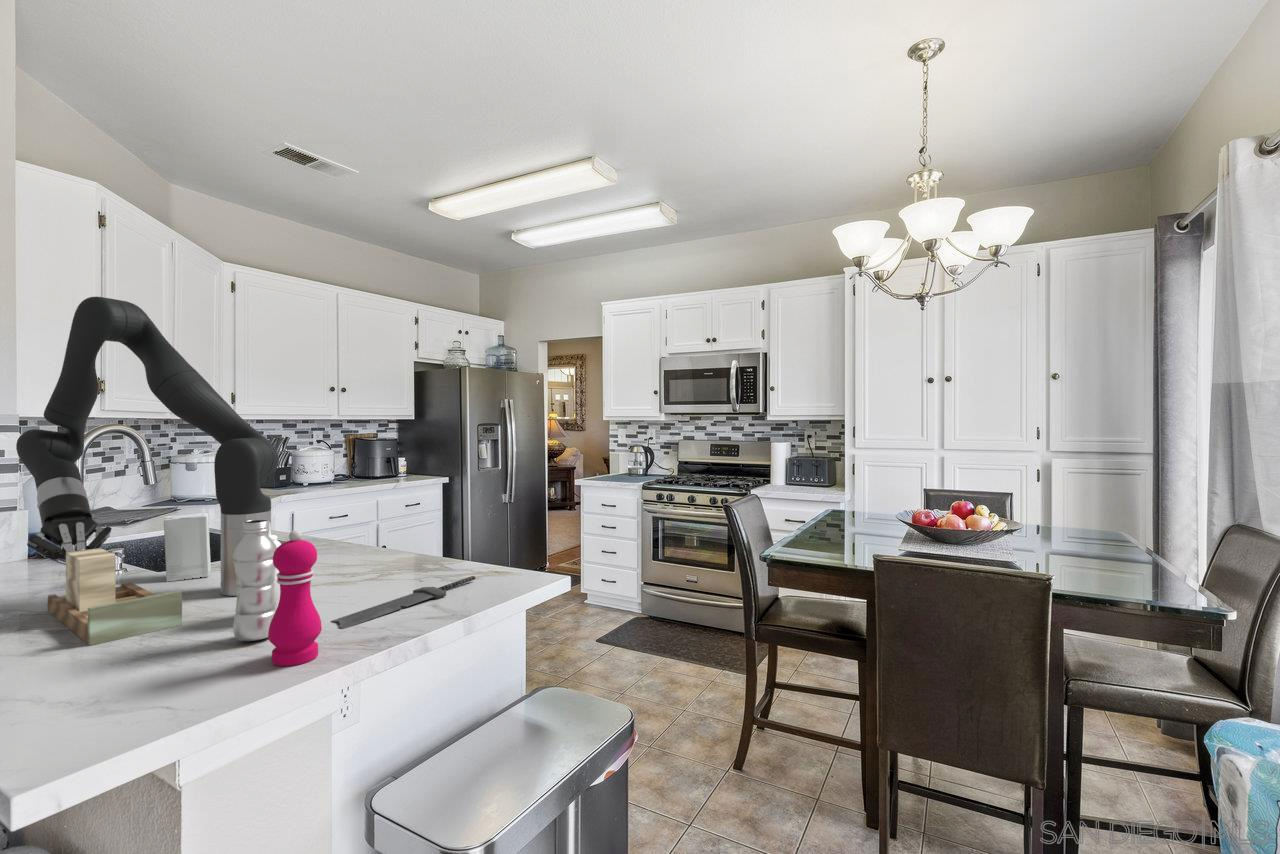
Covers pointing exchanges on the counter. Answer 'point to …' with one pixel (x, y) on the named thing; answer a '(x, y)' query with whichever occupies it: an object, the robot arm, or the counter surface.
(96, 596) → the maple block
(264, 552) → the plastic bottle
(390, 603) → the toy broadsword
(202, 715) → the counter surface
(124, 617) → the trap deck
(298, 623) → the pepper mill
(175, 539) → the skincare box
